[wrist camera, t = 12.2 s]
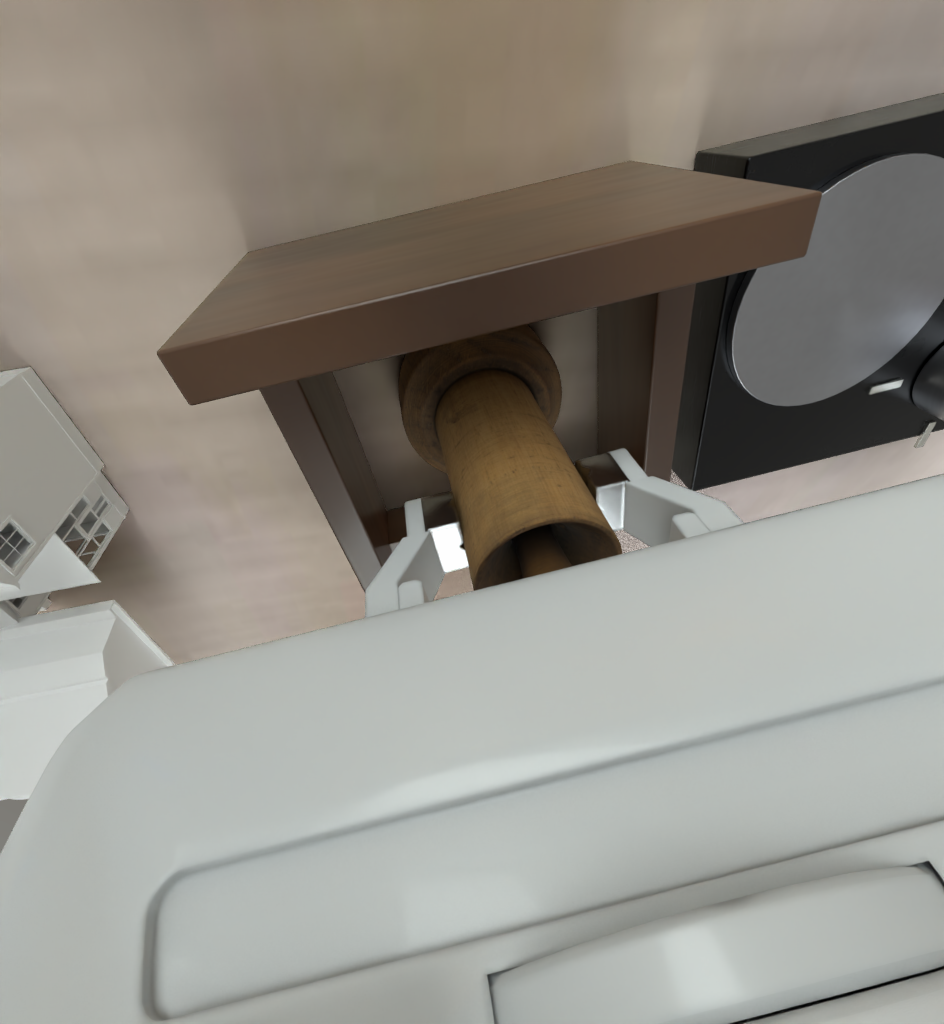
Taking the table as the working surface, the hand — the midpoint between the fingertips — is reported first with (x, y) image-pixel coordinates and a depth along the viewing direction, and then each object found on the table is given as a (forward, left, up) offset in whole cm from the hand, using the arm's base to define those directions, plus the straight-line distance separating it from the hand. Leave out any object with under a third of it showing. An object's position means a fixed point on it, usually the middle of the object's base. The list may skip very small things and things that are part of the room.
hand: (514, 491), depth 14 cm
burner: (+14, +1, -5) cm, 14 cm away
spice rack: (0, 0, -8) cm, 8 cm away
